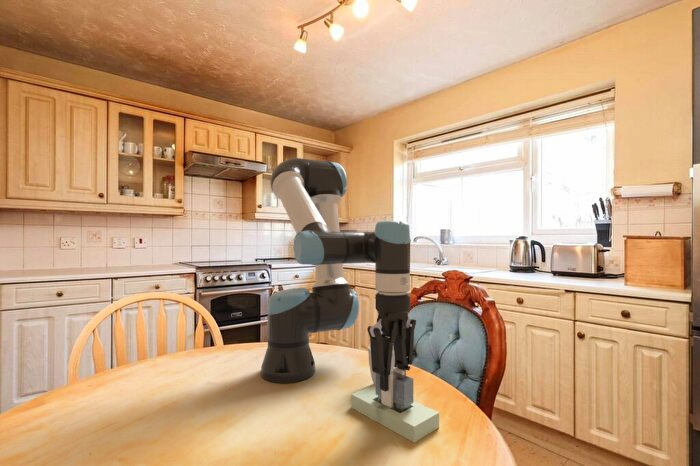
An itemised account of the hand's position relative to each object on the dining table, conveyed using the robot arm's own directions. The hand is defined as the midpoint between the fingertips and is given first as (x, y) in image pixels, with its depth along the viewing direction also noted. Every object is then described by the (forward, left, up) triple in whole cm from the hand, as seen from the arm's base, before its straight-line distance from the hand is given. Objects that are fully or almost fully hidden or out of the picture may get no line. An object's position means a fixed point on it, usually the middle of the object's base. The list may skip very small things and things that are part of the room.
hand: (393, 401), depth 74 cm
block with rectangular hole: (0, 0, -3) cm, 3 cm away
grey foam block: (0, 0, -3) cm, 3 cm away
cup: (-12, +10, -3) cm, 16 cm away
